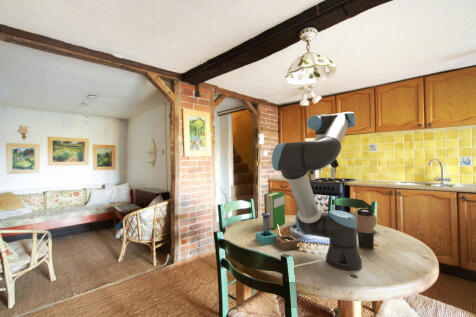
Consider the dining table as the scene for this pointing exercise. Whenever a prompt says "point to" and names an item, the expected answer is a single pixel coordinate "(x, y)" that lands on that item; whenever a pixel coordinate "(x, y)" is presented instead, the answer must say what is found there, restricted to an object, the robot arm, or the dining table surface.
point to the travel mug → (365, 228)
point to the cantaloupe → (356, 217)
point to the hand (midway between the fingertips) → (323, 179)
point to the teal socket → (266, 238)
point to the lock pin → (266, 223)
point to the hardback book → (275, 208)
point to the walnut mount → (286, 242)
